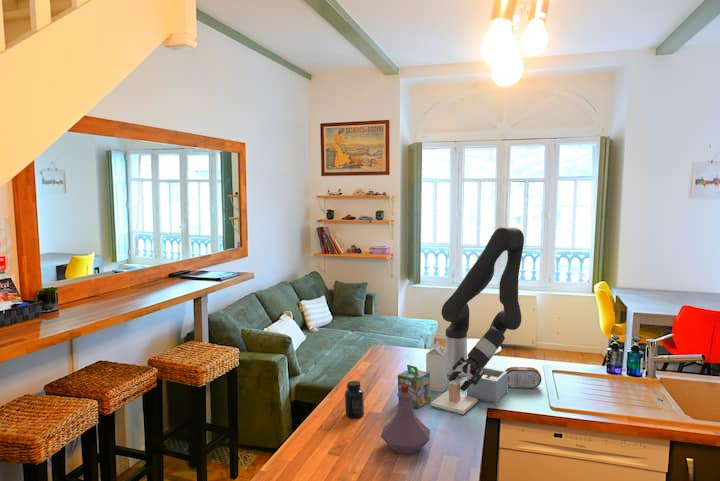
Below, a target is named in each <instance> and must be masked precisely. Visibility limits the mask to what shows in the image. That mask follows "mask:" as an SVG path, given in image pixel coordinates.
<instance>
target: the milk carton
mask: <svg viewBox="0 0 720 481" xmlns="http://www.w3.org/2000/svg"><path fill="white" fill-rule="evenodd" d="M425 372H428V373H430V391H432V392H433V391H434V392H442V393H445V390H446V389H447V387H448V375H447V351H446V348H445V347H444V346H442V345H441V343H439V340H437V342H435V343H434V345H433V346H432V347H431V348H430V349H429V350H428V352H426V354H425Z"/></svg>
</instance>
